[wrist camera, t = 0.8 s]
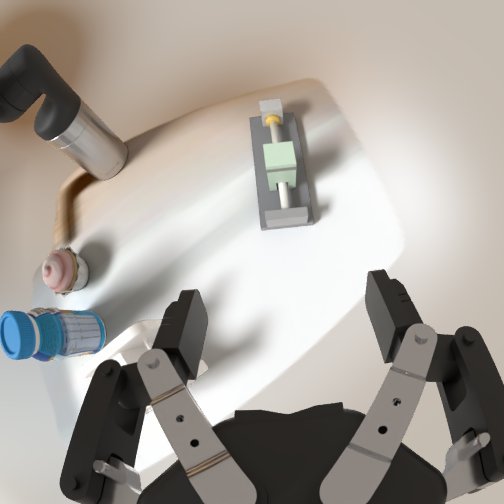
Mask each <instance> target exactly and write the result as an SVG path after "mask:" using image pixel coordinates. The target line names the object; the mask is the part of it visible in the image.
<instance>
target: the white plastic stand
mask: <svg viewBox="0 0 504 504" xmlns="http://www.w3.org/2000/svg"><path fill="white" fill-rule="evenodd" d="M161 321H162V319H158V320H143V321H139V322H137V323H135V324H133V325H132V326H130V327H129V328H127V329H126V330H125V331H124V332H122V333H121V334H120V335H119V336H117V337H116V338H115V339H114V340H113V341H111V342H110V343H109V344H108V345H106V346H105V347H104V348H103V349H102V350H100V351H99V352H98V353H97V354H96V355H94V356H93V357H92V358H91V359H90V360H88V361H87V362H86V363H85V364H84V365H83V366H82V367H81V371H82V373H83V375H84V376H85V377H86V378H87V377H91V376H93V375H94V372H95V370H96V368H97V366H98V365H99V364H100V363H102V362H103V361H105V360H108V359H114V360H117V361H118V362H119V363H120V365H121V366H123V365H127V364H131V363H135V362H138V359H139V358H140V356H141V355H142V354H143V353H145V352H146V351H148V350H151V349H152V346H151V345H152V344H153V343H154V340H155V338H156V335H157V332H158V330H159V327H160V326H161ZM207 369H208V366H207V365H206V364H205V362H204V361H203V359H201V360H200V363H199V368H198V373H197V378H198V377H199V376H201V375H202V374H203V373H204V372H205V371H206V370H207ZM194 381H196V380H188V382H187V386H186V387H187V388H189V387H191V385H190V384H192V383H193V382H194ZM152 410H153V409H152V406H151V405H150V406H147V407H146V412H145V415H146V414H147V413H149V412H151V411H152Z"/></svg>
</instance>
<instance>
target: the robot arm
mask: <svg viewBox="0 0 504 504" xmlns="http://www.w3.org/2000/svg"><path fill="white" fill-rule="evenodd" d="M43 93H44V94H46V97H45V99H44V102H43V104H42V105H41V107H40V109H39V111H38V113H37V116H36V118H35V123H34V129H35V132H36V134H37V135H38V136H40V137H41V138H42V139H44V140H45V141H46V142H48V143H49V144H50V145H52V146H53V147H54V148H56V149H57V150H59V151H60V152H61V153H63V154H64V155H65V156H67V157H68V158H69V159H71V160H72V161H73V162H75V163H76V164H78V165H79V166H80V167H82V168H83V169H85V170H86V171H87V172H89V173H90V174H91V175H93V176H94V177H96V178H97V179H99V180H107V179H110V178H112V177H113V176H115V175H116V174H117V173H118V172H119V171H120V170H121V169H122V167H123V166H124V164H125V162H126V160H127V156H128V150H127V147H126V145H125V144H124V143H123V142H122V141H121V140H120V139H119V138H118V137H117V136H116V135H115V133H114V132H113V131H112V130H111V129H110V128H109V127H108V126H107V125H106V124H105V123H104V122H103V121H102V120H101V119H100V118H99V117H98V116H97V115H96V114H95V113H94V112H93V111H92V109H90V107H89V106H88V105H87V104H86V103H85V102H84V101H83V100H82V99H81V98H80V97H79V96H78V95H77V94H76V93H75V92H74V91H73V90H72V89H71V87H69V85H68V84H67V83H66V82H65V81H64V80H63V79H62V78H61V76H60V75H59V74H58V73H57V72H56V70H55V69H54V68H53V67H52V66H51V64H50V63H49V62H48V60H47V59H46V58H45V57H44V55H43V54H42V53H41V52H40V51H39V50H38V49H37V48H35V47H34V46H32V45H28V44H26V45H23V46H21V47H20V48H19V49H18V50H17V51H16V52H15V53H14V54H13V55H12V56H11V57H10V58H9V59H8V60H7V61H6V62H5V63H4V64H3V65H2V67H1V68H0V123H7V122H12V121H14V120H16V119H18V118H19V117H20V116H22V114H24V112H26V111H27V109H28V108H29V107H30V106H31V105H32V104H33V103H34V102H35V101H36V100H37V99H38V98H39V97H40V96H41V95H42V94H43ZM365 303H366V309H367V311H368V314H369V317H370V320H371V323H372V326H373V329H374V332H375V335H376V338H377V341H378V344H379V347H380V350H381V353H382V356H383V359H384V363H390V362H393V365H392V367H391V368H390V370H389V372H388V374H387V376H386V378H385V380H384V382H383V384H382V386H381V388H380V390H379V392H378V394H377V396H376V398H375V400H374V402H373V404H372V406H371V407H370V409H369V411H368V413H367V415H365V414H363V413H361V412H358V411H355V410H350V409H343V403H342V402H339V403H332V404H324V405H317V406H313V407H310V408H308V409H304V410H301V411H298V412H295V413H292V414H282V413H276V412H270V411H265V410H235V416H234V417H233V418H230V419H227V420H224V421H222V422H220V423H218V424H217V425H215V426H212V425H211V424H210V422H209V421H208V419H207V418H206V416H205V415H204V413H203V412H202V410H201V409H200V407H199V406H198V404H197V403H196V401H195V400H194V398H193V396H192V395H191V393H190V392H189V390H188V388H187V387H186V386H187V382H188V380H196V378H197V373H198V368H199V363H200V358H201V354H202V349H203V344H204V339H205V334H206V330H207V325H208V317H207V312H206V309H205V307H204V304H203V301H202V298H201V295H200V292H199V291H198V289H194V290H182V291H181V293H180V296H179V299H178V301H175V302H172V303H171V304H170V305H169V307H168V308H167V309H166V311H165V314H164V316H163V319H162V321H161V326H160V327H159V330H158V332H157V335H156V338H155V340H154V343H153V346H152V349H151V350H148V351H146V352H145V353H143V354H142V355H141V356H140V358H139V359H138V362H135V363H131V364H127V365H123V366H121V365H120V363H119V362H118V361H117V360H114V359H108V360H105V361H103V362H102V363H100V364H99V365H98V366H97V368H96V370H95V372H94V375H93V377H92V380H91V383H90V385H89V388H88V391H87V393H86V396H85V399H84V402H83V404H82V407H81V410H80V413H79V416H78V419H77V422H76V425H75V428H74V431H73V434H72V438H71V441H70V444H69V448H68V451H67V455H66V458H65V462H64V466H63V469H62V473H61V477H60V488H61V491H62V492H63V494H64V495H65V496H66V497H67V498H68V499H71V500H73V501H76V502H78V503H81V504H445V502H447V501H450V500H452V499H454V498H457V497H459V496H462V495H464V494H466V493H469V494H470V493H474V492H477V491H479V490H482V489H484V488H486V487H488V486H490V485H492V484H494V483H496V482H498V481H500V480H502V479H504V384H503V382H502V380H501V377H500V375H499V373H498V370H497V368H496V366H495V363H494V361H493V359H492V357H491V355H490V353H489V351H488V349H487V346H486V344H485V342H484V340H483V338H482V336H481V335H480V333H479V332H478V331H477V330H476V329H474V328H472V327H469V326H463V327H461V328H459V329H458V330H457V331H456V333H455V335H444V334H437V333H436V332H435V330H434V329H433V328H432V327H430V326H429V325H426V324H423V322H422V320H421V318H420V316H419V314H418V312H417V310H416V308H415V306H414V304H413V302H412V301H411V299H410V297H409V295H408V293H407V291H406V289H405V287H404V285H403V284H401V283H400V282H399V281H398V280H396V279H389V277H388V275H387V273H386V271H385V270H384V269H382V270H375V271H369V272H368V276H367V286H366V294H365ZM426 381H427V382H436V383H437V387H438V390H439V393H440V397H441V400H442V403H443V407H444V411H445V414H446V418H447V422H448V426H449V430H450V434H451V438H452V443H453V445H452V446H451V447H450V448H449V450H448V451H447V454H446V459H445V460H446V465H445V469H444V472H443V473H441V472H440V471H439V470H438V469H436V468H435V467H434V466H432V465H431V464H430V463H428V462H427V461H425V460H424V459H423V458H421V457H420V456H419V455H417V454H416V453H415V452H414V451H412V450H411V449H409V448H408V447H407V446H406V445H404V444H403V443H402V442H401V441H402V439H403V436H404V435H405V433H406V430H407V428H408V426H409V424H410V421H411V419H412V417H413V414H414V412H415V410H416V407H417V405H418V402H419V400H420V397H421V394H422V392H423V389H424V386H425V383H426ZM150 405H151V406H152V409H153V411H154V413H155V415H156V417H157V419H158V421H159V423H160V425H161V427H162V429H163V431H164V433H165V435H166V437H167V439H168V441H169V442H170V444H171V446H172V448H173V450H174V452H175V453H176V455H177V457H178V460H177V461H176V462H175V463H174V464H173V465H171V466H170V467H169V468H168V469H167V470H166V471H165V472H164V473H162V474H161V475H160V476H159V477H158V478H157V479H155V480H154V481H153V482H152V483H151V484H149V485H148V486H147V487H146V488H145V489H144V490H143V491H142V489H141V482H140V476H139V474H138V472H137V471H136V470H135V469H134V465H135V459H136V454H137V449H138V444H139V439H140V434H141V430H142V425H143V420H144V416H145V412H146V407H147V406H150Z"/></svg>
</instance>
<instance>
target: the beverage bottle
mask: <svg viewBox="0 0 504 504" xmlns="http://www.w3.org/2000/svg"><path fill="white" fill-rule="evenodd" d="M105 340H106V330H105V326H104V323H103V321H102V319H101V318H100V317H99V316H98V315H97V314H96V313H95V312H93V311H89V310H83V311H72V310H59V309H57V308H46V309H44V308H35V309H33V310H31V311H29V312H28V313H27V314H26V313H24V312H20V311H7V312H5V313H4V314H3V315H2V317H1V319H0V342H1V345H2V348H3V350H4V352H5V353H6V355H7V356H8V357H9V358H11V359H15V360H20V359H27V358H30V357H33V358H35V359H37V360H40V361H50V360H54V361H58V360H63V359H65V358H69V357H75V356H81V355H87V354H95V353H97V352H99V351H100V350H101V349H102V348H103V346H104V344H105Z"/></svg>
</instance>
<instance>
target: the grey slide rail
mask: <svg viewBox="0 0 504 504" xmlns="http://www.w3.org/2000/svg"><path fill="white" fill-rule="evenodd" d="M259 105H260V112H261V116H259V117H251V118H250V128H251V137H252V146H253V156H254V165H255V175H256V185H257V195H258V204H259V215H260V225H261V230H271V229H280V228H289V227H298V226H308V225H313V215H312V209H311V202H310V196H309V190H308V184H307V179H306V173H305V167H304V162H303V157H302V151H301V146H300V141H299V136H298V131H297V127H296V122H295V117H294V113H285V114H283V109H282V104H281V99H270V100H262V101H259ZM289 141H292V142H293V147H294V153H295V159H296V165H297V170H296V188H292V189H288V182H283V183H276V186H277V190H274V191H270V188H269V183H268V177H267V173H266V167H265V159H264V151H263V144H271V143H280V142H289Z"/></svg>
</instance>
